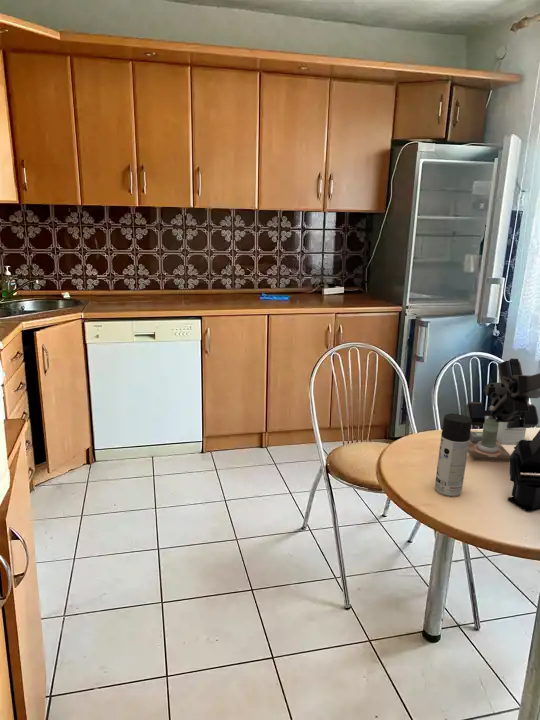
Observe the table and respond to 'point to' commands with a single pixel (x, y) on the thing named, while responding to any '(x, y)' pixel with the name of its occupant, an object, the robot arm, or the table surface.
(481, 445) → the ring stacking peg
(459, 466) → the spray can
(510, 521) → the table surface
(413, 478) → the table surface
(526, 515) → the table surface
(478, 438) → the digital kitchen scale
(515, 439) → the supplement box
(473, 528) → the table surface
